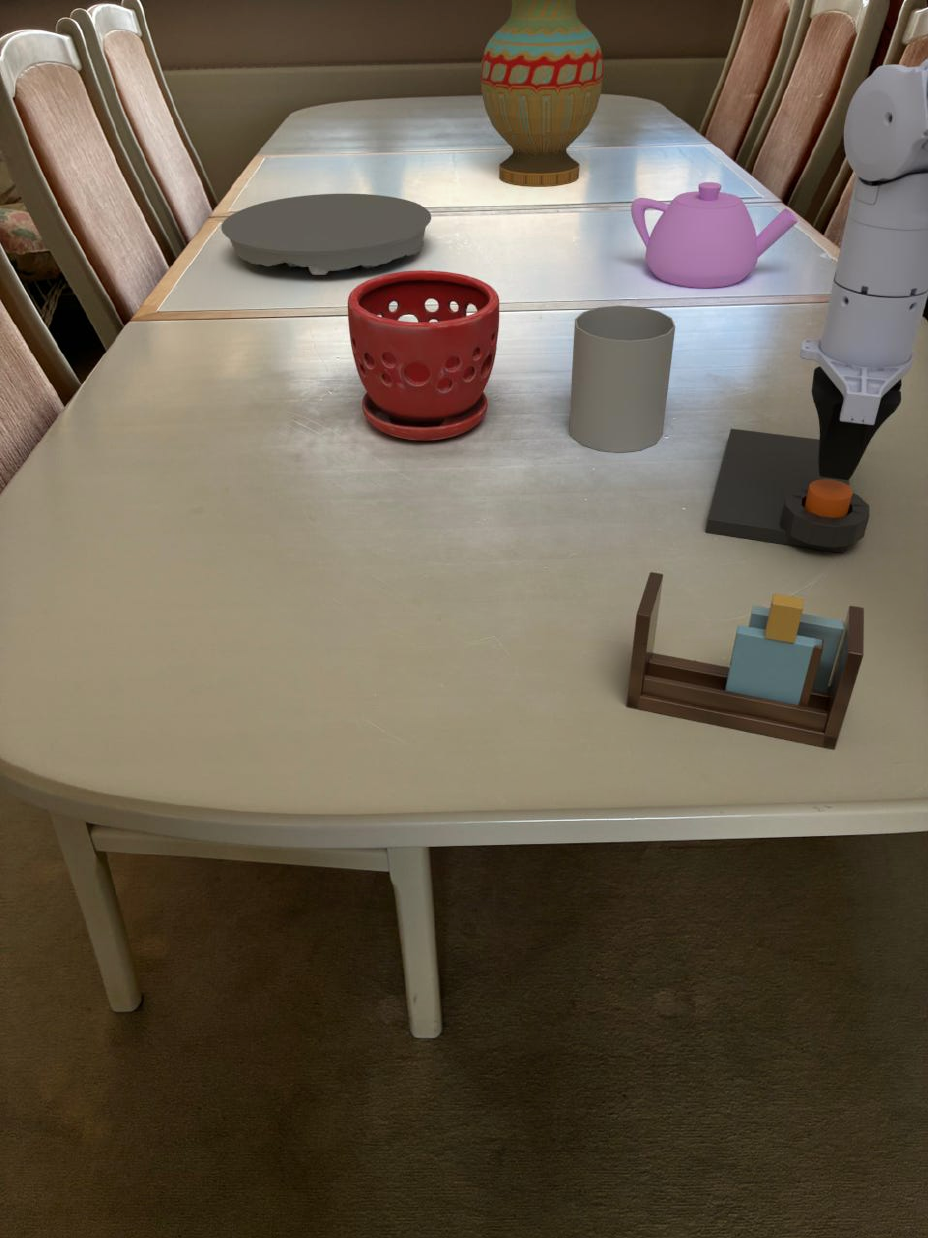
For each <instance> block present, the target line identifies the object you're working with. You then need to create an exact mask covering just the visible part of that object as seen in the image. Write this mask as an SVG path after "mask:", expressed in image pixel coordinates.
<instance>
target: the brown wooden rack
mask: <svg viewBox="0 0 928 1238" xmlns="http://www.w3.org/2000/svg"><path fill="white" fill-rule="evenodd" d="M663 580H664V573H659V572H654V571H650V572H649V574H648V577H647V580H646V584H645V587H644V590H643V593H642V596H641V599H640V602H639V605H638V609H637V611H636V616H635V622H634V623H635V624H634V634H633V640H632V641H633V642H632V651H631V660H630V667H629V677H628V685H627V694H626V702H625V703H626V704H625V706H626V707H627V708H631V709H632V708H633V709H637V710H642V711H647V712H652V713H656V714H661V715H665V716H671V717H676V718H680V719H685V720H691V721H696V722H700V723H705V724H710V725H713V726H714V725H715V726H719V727H724V728H730V729H733V730H739V731H743V732H749V733H753V734H759V735H762V736H767V737H773V738H777V739H781V740H787V741H793V742H796V743H801V744H806V745H812V746H816V747H822V748H825V749H826V748H827V749H831V750H835V749H836V748H837V743H838V742H839V738H840V735H841V731H842V728H843V725H844V724H843V723H844V721H845V717H846V714H847V711H848V709H849V708H848V707H849V705H850V702H851V698H852V694H853V691H854V688H855V685H856V681H857V678H858V676H859V675H858V674H859V672H860V668H861V665H862V661H863V659H864V653H865V652H864V651H865V650H864V649H865V608H864V607H861V606H856V605H849V606H848V609H847V612H846V616H845V619H844V620H841V619H835V618H829V617H824V616H818V615H813V614H812V615H811V614H807V613H806V614H805V613H802V615H801V619H800V623H799V627H798V631H797V635H798V636H804V637H810V638H820V639H823V640H824V644H823V651H822V655H821V659H820V662H819V666H818V670H817V674H816V677H815V681H814V685H813V688H812V692H811V696H810V700H809V703H808V707H806V706H801V705H796V704H791V703H786V702H780V701H775V700H770V699H765V698H760V697H755V696H750V695H745V694H740V693H735V692H730V691H725V688H726V683H727V678H728V673H729V668H730V666H726V665H725V666H724V665H719V664H714V663H708V662H704V661H698V660H692V659H688V658H682V657H676V656H671V655H667V654H661V653H656V652H654V648H655V641H656V633H657V626H658V618H659V611H660V603H661V595H662V589H663ZM769 611H770V607H765V606H760V605H752V608H751V613H750V618H749V622H748V627H753V628H759V629H765V630H766V625H767V620H768V616H769Z"/></svg>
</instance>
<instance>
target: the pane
mask: <svg viewBox="0 0 928 1238" xmlns="http://www.w3.org/2000/svg"><path fill="white" fill-rule="evenodd" d="M804 602H805V599H804V598H802V597H798V596H791V595H787V594H786V595H785V594H780V593H773V594H772V597H771V602H770V607H769V608H770V611H769V616H768V620H767V625H766V630H765V629H759V628H753V627H749V625H743V624H742V625H741V624H738V625H737V626H736V633H735V638H734V642H733V648H732V653H731V658H730V663H729V667H730V668H729V673H728V678H727V683H726V688H725V691H730V692H735V693H740V694H745V695H750V696H755V697H760V698H765V699H770V700H775V701H780V702H786V703H791V704H796V705H801V706H806V707H808V703H809V700H810V696H811V692H812V688H813V685H814V681H815V677H816V674H817V670H818V666H819V662H820V659H821V655H822V651H823V644H824V640H823V639H820V638H810V637H804V636H798V635H797V631H798V627H799V623H800V619H801V615H802V614H803V611H804V604H805V603H804Z"/></svg>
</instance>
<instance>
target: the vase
mask: <svg viewBox="0 0 928 1238" xmlns="http://www.w3.org/2000/svg"><path fill="white" fill-rule="evenodd" d="M480 64H481V65H480V86H481V87H480V88H481V96H482V100H483V104H484V109H485V111H486V114H487V116H488V119H489V122H490V123H491V125H492V127H493V128H494V129H495V131H496V132H497V133H498V134H499V136H500V137H501V138H502V139H503V140H504V141H505V142H506V143H507V144H508V145H509V146H510V148H512V153H511V154H510V155H509V156H507V158H505V159H504V160H502V161H501V162H500V163H499V164H498V179H500V180H501V181H502V182H504V183H507V184H511V185H518V186H526V187H550V186H551V187H552V186H560V185H565V184H569V183H573V182H575V181H577V180H578V179H579V178H580V163H579V162H578V161H576V160H575V159H574V158H573V157H571V155H569V153H568V152H567V150H568V147H570V146H571V145H572V144H573V143H574V142H575V141H576V140H577V139H578V138H579V137H580V136H581V134H583V132H584V131H585V130H586V129H587V128H588V127H589V125H590V123H591V121H592V119H593V117H594V115H595V113H596V111H597V108H598V106H599V101H600V98H601V95H602V89H603V81H604V80H603V79H604V58H603V53H602V48H601V46H600V43H599V41H598V39H597V37H595V35H594V34H593V33H592V31H591V30H589V29H588V27H587V26H586V25H584V23H582V22H581V20H580V19H579V18H578V13H577V9H576V0H511V11H510V15H509V18H508V19H507V20H506V22H505V23H504V24H503V25H502V26H501V27H500V28H499V29H498V30H496V32H495V33H494V34H493V35H492V37H490V39H489V41H488V42H487V44H486V46H485V48H484V51H483V55H482V58H481V63H480Z"/></svg>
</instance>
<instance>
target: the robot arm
mask: <svg viewBox="0 0 928 1238" xmlns="http://www.w3.org/2000/svg"><path fill="white" fill-rule="evenodd" d="M843 147H844V153H845V156H846V160H847V163H848V165H849V166H850V169H851V170H852V171H853V172H854V174H855V178H854V182H853V187H852V192H851V197H850V202H849V206H848V210H847V216H846V220H845V226H844V229H843V230H844V231H843V234H842V238H841V243H840V248H839V253H838V257H837V263H836V267H835V272H834V276H833V281H832V285H831V291H830V295H829V300H828V304H827V309H826V313H825V318H824V322H823V328H822V332H821V337H820V339H811V338H806V339H803V340H802V341H801V344H800V348H799V354H798V355H799V358H801V359H802V360H808V361H814V362H816V363H817V364H818V366H816V367H815V368H814V370H813V375H812V384H811V397H812V400H813V401H812V402H813V405H814V406H815V410H816V413H817V418H818V426H819V428H818V429H819V439H818V440H819V457H818V466H819V476H821V477H827V478H835V479H842V480H849V481H850V479H851V478H852V477H853V474H854V473H855V472H856V470H857V468H858V466H859V464H860V462H861V460H862V458H863V456H864V454H865V452H866V450H867V449H868V446H869V444H870V442H871V441H872V439H873V438H874V436H875V434H876V433H877V432H878V430H879V429H880V428H881V426H882V425H883V424H884V423H885V421H887V420H888V419H889V418H890V417H891V416H892V415H893V414H894V413H895V412H896V411H897V409H898V408H899V406H900V404H901V402H902V391H901V388H902V384H903V383H902V378H904V377H905V375H907V374H908V373H909V371H911V369H912V366H913V362H914V359H915V355H914V352H913V350H914V347H915V344H916V340H917V336H918V332H919V329H920V325H921V322H922V318H923V315H924V310H925V308H926V305H927V300H928V57H927V58H926V59H925V60H923V62H921V63H920V65H919V66H909V67H908V66H906V65H903V64H884V65H880V66H878V67H876V69H874V71H873V72H872V73H871V75H869V76H868V77H867V78H866V79H865V80H864V81H863V82H862V83H861V84H860V85H859V86H858V88H857V89H856V91H855V93H854V94H853V95H852V98H851V100H850V102H849V105H848V107H847V112H846V115H845V120H844V125H843Z"/></svg>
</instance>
